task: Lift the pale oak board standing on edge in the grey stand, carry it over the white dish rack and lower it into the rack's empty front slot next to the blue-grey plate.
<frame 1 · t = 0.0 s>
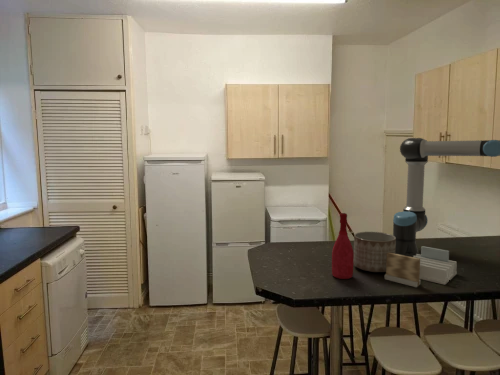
wine bottle: (342, 276, 166), on the table
oak board: (402, 281, 158), resting in board stand
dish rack: (429, 274, 167), on the table
board stand: (402, 281, 158), on the table
planter: (373, 268, 176), on the table
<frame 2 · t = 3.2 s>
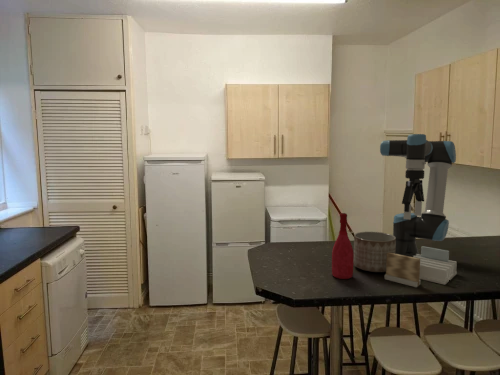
hand: (412, 217, 157), 29 cm above the table, fingers open, 13 cm apart
nothing on the table moved.
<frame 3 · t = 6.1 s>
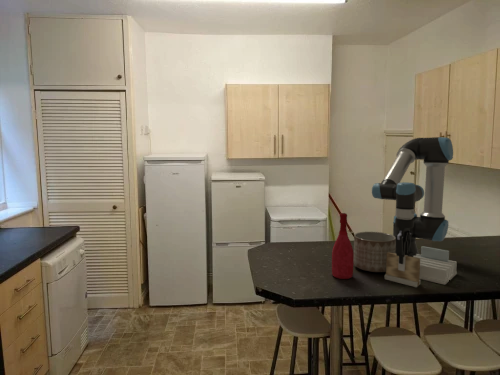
hand: (402, 269, 157), 6 cm above the table, fingers closed on oak board, 2 cm apart
oak board: (402, 281, 158), resting in board stand, touching gripper
everything else where it was.
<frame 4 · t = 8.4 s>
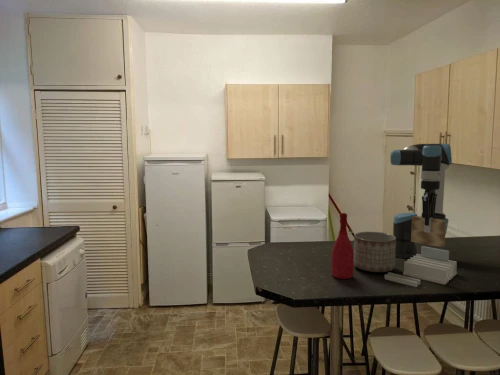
hand: (427, 231, 160), 22 cm above the table, fingers closed on oak board, 2 cm apart
oak board: (427, 244, 161), point 16 cm above the table, touching gripper
everything else where it was.
when the fingers open (8 cm above the table, at t = 10.8 s): oak board drops 1 cm, resting on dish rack.
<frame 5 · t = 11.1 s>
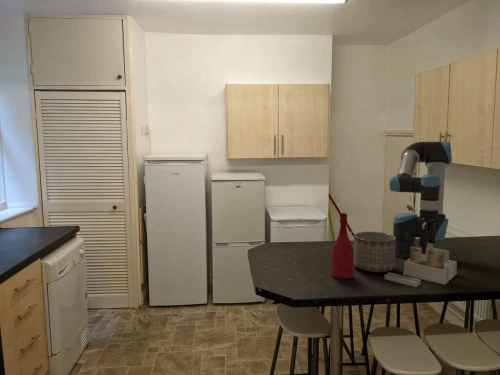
hand: (426, 258, 162), 9 cm above the table, fingers open, 7 cm apart
oak board: (425, 275, 163), point 1 cm above the table, touching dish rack
everything else where it was.
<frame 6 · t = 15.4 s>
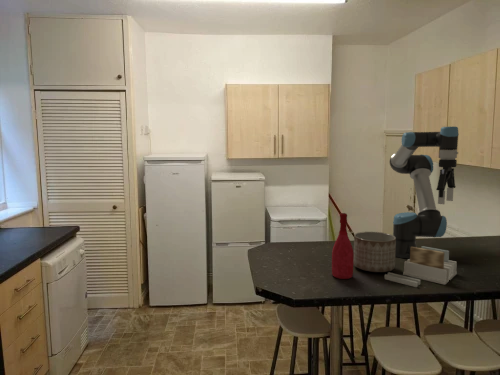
hand: (445, 202, 173), 33 cm above the table, fingers open, 13 cm apart
nothing on the table moved.
at the end: oak board inside the target area on the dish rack (0.2 cm from its centre), point 1.2 cm above the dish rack's base; oak board tilted 0°; the gripper is holding nothing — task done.
